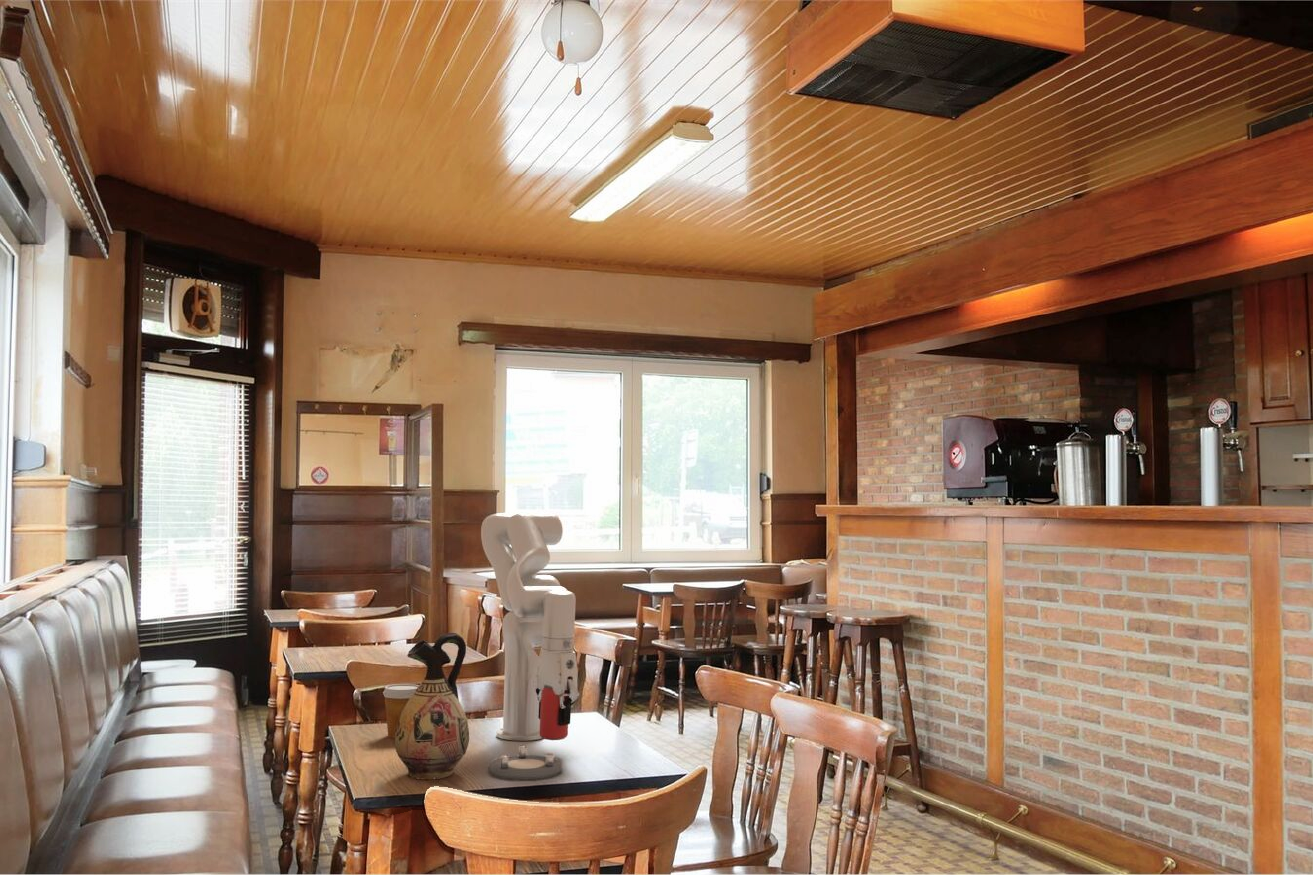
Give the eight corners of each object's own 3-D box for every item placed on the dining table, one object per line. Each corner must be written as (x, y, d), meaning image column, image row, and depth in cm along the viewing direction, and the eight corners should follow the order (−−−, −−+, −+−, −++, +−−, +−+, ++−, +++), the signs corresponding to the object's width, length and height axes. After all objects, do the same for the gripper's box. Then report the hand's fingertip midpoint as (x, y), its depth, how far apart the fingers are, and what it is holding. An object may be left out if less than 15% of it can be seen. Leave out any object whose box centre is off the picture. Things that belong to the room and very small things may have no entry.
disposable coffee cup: (428, 735, 257) (430, 686, 258) (400, 741, 249) (402, 691, 250) (401, 730, 262) (403, 682, 263) (372, 736, 254) (374, 687, 255)
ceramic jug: (400, 787, 208) (406, 637, 210) (388, 769, 222) (393, 629, 225) (483, 780, 215) (487, 635, 217) (466, 763, 229) (470, 627, 231)
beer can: (572, 735, 241) (574, 684, 241) (560, 742, 234) (562, 689, 235) (546, 732, 243) (548, 681, 243) (534, 738, 237) (536, 686, 237)
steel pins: (522, 756, 230) (523, 745, 230) (554, 766, 222) (554, 754, 222) (485, 763, 223) (486, 751, 223) (517, 773, 215) (517, 761, 215)
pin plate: (532, 758, 234) (532, 751, 235) (577, 772, 223) (577, 764, 223) (473, 769, 223) (473, 762, 223) (517, 784, 212) (517, 776, 212)
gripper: (594, 648, 236) (590, 726, 235) (547, 637, 248) (543, 711, 248) (568, 651, 231) (565, 731, 230) (522, 640, 243) (518, 716, 242)
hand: (554, 720), depth 239 cm, fingers closed on beer can, 6 cm apart
